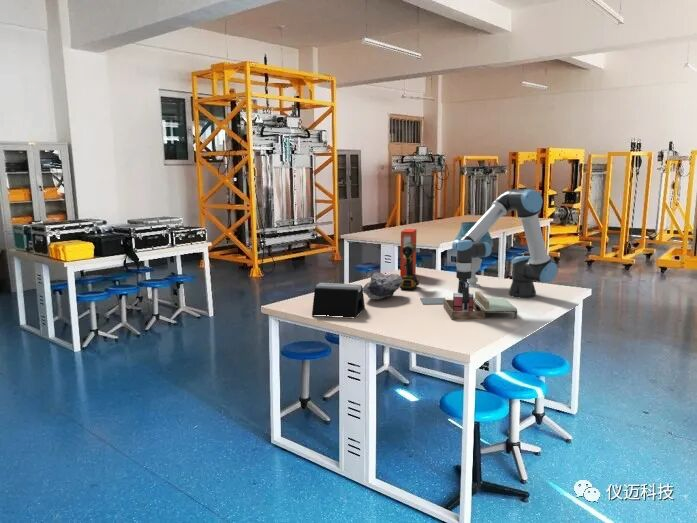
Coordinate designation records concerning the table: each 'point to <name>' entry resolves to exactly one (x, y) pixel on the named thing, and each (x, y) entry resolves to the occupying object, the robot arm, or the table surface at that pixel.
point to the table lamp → (475, 261)
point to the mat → (432, 301)
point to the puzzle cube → (458, 302)
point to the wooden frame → (468, 312)
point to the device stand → (338, 299)
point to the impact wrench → (409, 268)
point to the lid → (493, 303)
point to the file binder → (406, 237)
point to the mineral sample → (382, 285)
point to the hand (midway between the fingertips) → (462, 312)
